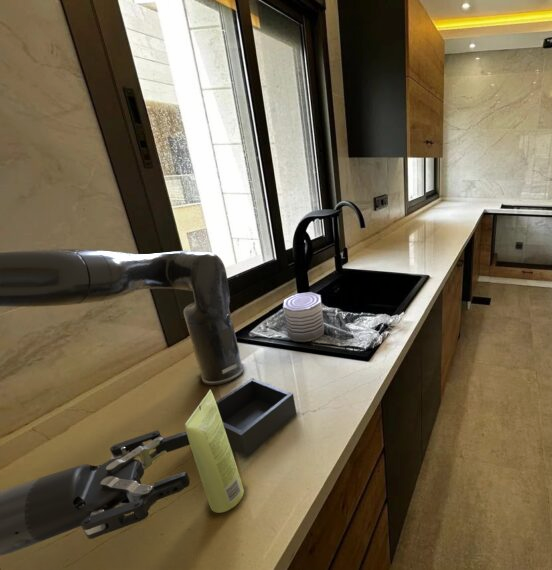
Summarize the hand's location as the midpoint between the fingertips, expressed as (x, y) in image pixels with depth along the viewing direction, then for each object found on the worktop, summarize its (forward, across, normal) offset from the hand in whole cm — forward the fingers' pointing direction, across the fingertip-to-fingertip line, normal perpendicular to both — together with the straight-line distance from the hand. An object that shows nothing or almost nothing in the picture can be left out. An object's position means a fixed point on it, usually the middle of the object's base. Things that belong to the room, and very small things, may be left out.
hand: (191, 455), depth 50 cm
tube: (+3, 0, +11) cm, 12 cm away
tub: (+8, +16, +11) cm, 21 cm away
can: (+26, +50, +11) cm, 58 cm away
